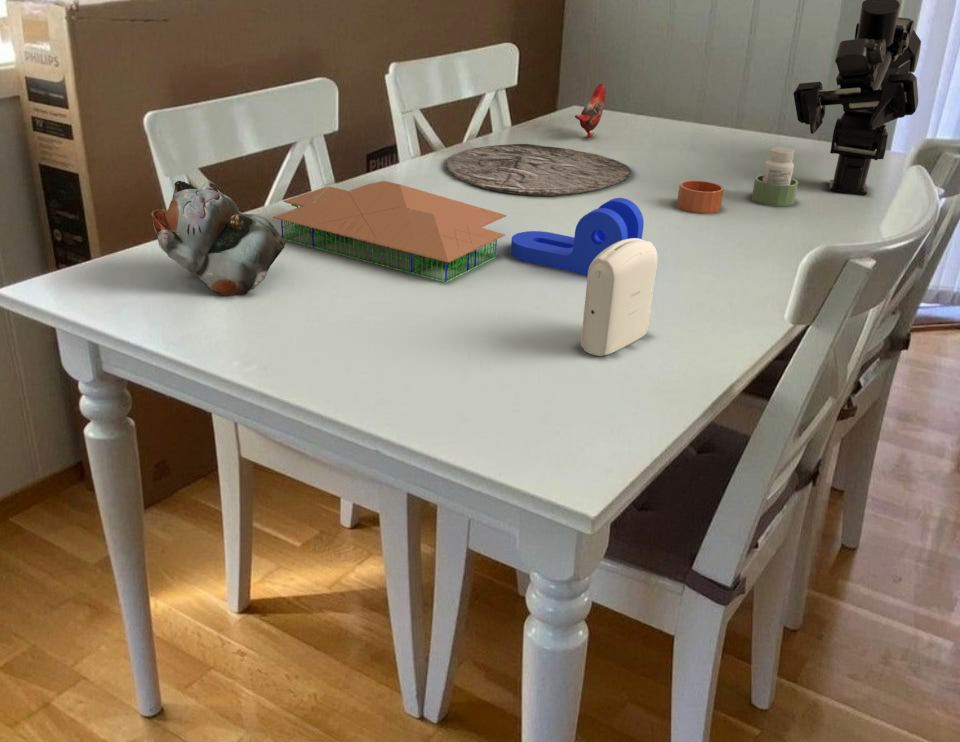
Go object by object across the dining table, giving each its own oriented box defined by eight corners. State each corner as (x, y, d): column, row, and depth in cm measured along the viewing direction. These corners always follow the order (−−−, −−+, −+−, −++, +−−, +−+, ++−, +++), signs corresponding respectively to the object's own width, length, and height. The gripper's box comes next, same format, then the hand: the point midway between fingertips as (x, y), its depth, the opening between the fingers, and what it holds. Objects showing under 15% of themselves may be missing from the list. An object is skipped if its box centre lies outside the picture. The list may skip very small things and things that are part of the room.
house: (354, 201, 167) (354, 150, 163) (531, 242, 153) (535, 188, 149) (259, 235, 150) (255, 179, 146) (447, 285, 136) (449, 225, 132)
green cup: (752, 192, 183) (756, 172, 181) (794, 197, 181) (798, 177, 180) (750, 203, 177) (754, 182, 175) (793, 208, 175) (797, 187, 174)
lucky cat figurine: (246, 304, 127) (179, 207, 119) (183, 319, 134) (116, 229, 126) (303, 238, 136) (245, 144, 128) (241, 256, 143) (182, 167, 135)
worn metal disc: (413, 178, 180) (413, 175, 180) (487, 138, 208) (487, 136, 207) (595, 206, 170) (595, 204, 170) (646, 161, 198) (647, 159, 198)
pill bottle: (762, 193, 182) (771, 145, 177) (789, 198, 180) (799, 149, 176) (756, 200, 178) (765, 150, 174) (783, 204, 176) (793, 154, 172)
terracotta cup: (679, 198, 177) (682, 178, 175) (721, 204, 176) (725, 183, 174) (674, 210, 171) (677, 189, 169) (718, 215, 170) (722, 194, 168)
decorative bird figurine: (606, 132, 218) (611, 83, 213) (578, 149, 204) (583, 96, 199) (593, 130, 219) (598, 81, 214) (565, 147, 205) (569, 94, 200)
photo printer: (604, 360, 118) (617, 256, 111) (574, 349, 120) (585, 246, 114) (652, 336, 125) (666, 236, 118) (622, 326, 127) (635, 228, 120)
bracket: (638, 265, 147) (646, 202, 142) (617, 281, 140) (625, 216, 136) (525, 241, 153) (530, 180, 149) (500, 256, 147) (504, 193, 142)
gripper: (802, 34, 168) (774, 88, 161) (923, 19, 158) (898, 76, 150) (812, 95, 176) (785, 149, 168) (927, 85, 166) (904, 142, 158)
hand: (840, 128), depth 161 cm, fingers open, 9 cm apart
